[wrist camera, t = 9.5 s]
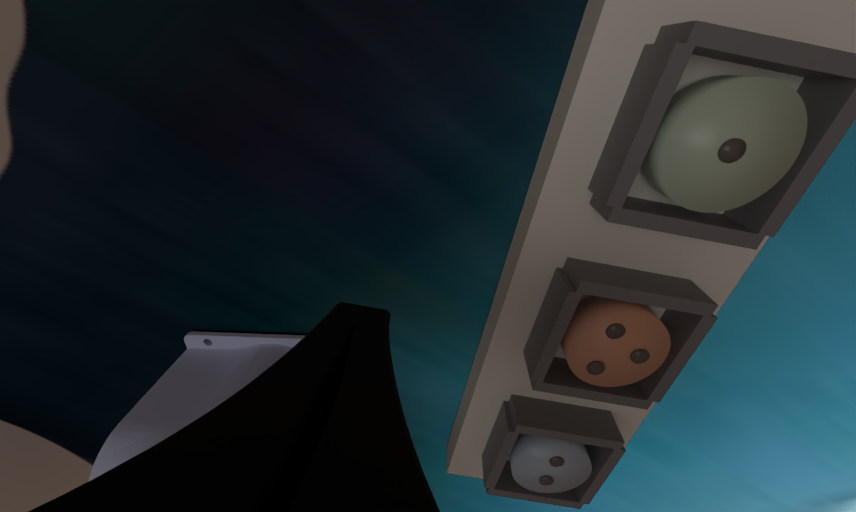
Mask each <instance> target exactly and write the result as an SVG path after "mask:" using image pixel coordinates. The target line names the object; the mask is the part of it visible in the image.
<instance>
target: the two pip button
mask: <svg viewBox="0 0 856 512" xmlns="http://www.w3.org/2000/svg"><path fill="white" fill-rule="evenodd" d="M509 458H510V465H511V471H512V476H513V478H514V480H515V481H516V482H517V483H518V484H519V485H521V486H522V487H524V488H526V489H528V490H531V491H535V492H540V493H559V492H564V491H568V490H571V489H573V488H576V487H578V486H579V485H581V484H582V483H584V482H585V481H586V480H587V479H588V477H589V476H590V474H591V471H592V464H591V461H590V458H589V455H588V453H587V450H586V447H585V444H582V443H576V442H570V441H564V440H558V439H552V438H545V437H539V436H533V435H527V434H521V433H519V435H518V438H517V440H516V442H515V444H514V446H513V449H512V451H511V453H510V455H509Z"/></svg>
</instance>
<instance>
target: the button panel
mask: <svg viewBox="0 0 856 512" xmlns="http://www.w3.org/2000/svg"><path fill="white" fill-rule="evenodd" d="M719 75H738V76H758V77H769V78H774V79H777V80H780V81H782V82H784V83H786V84H788V85H790V86H791V87H792V88H793V89H795V90H796V92H797V93H798V94H799V95H800V97H801V98H802V100H803V102H804V105H805V108H806V112H807V132H806V137H805V140H804V144H803V146H802V149H801V151H800V153H799V155H798V157H797V158H796V160H795V162H794V163H793V165H792V166H791V168H790V169H789V170H788V172H787V173H786V174H785V175H784V176H783V177H782V178H781V180H779V181H778V182H777V183H776V184H775V185H774V186H773V187H772V188H771V189H769V190H768V191H767V192H766V193H764V194H762V195H761V196H759V197H758V198H756V199H754V200H753V201H751V202H749V203H747V204H745V205H742V206H740V207H737V208H734V209H731V210H727V211H722V212H714V213H703V212H696V211H692V210H689V209H686V208H684V207H682V206H680V205H679V204H677V203H675V202H674V201H672V200H671V199H669V198H668V197H666V196H664V195H663V194H661V193H660V192H658V191H656V190H655V189H654V188H653V187H652V186H651V185H650V184H649V183H648V182H647V180H646V178H645V176H644V175H643V172H642V169H641V165H642V163H643V160H644V158H645V156H646V154H647V152H648V149H649V147H650V145H651V143H652V141H653V138H654V136H655V134H656V132H657V130H658V127H659V125H660V123H661V121H662V119H663V116H664V114H665V112H666V110H667V108H668V105H669V103H670V101H671V99H672V97H673V95H674V94H676V93H677V92H678V91H680V90H681V89H683V88H684V87H686V86H688V85H690V84H692V83H694V82H696V81H699V80H701V79H705V78H708V77H712V76H719ZM855 119H856V0H588V3H587V6H586V9H585V12H584V15H583V18H582V21H581V25H580V28H579V31H578V34H577V37H576V40H575V44H574V47H573V50H572V53H571V56H570V59H569V62H568V66H567V69H566V72H565V75H564V78H563V81H562V85H561V88H560V91H559V94H558V97H557V100H556V103H555V107H554V110H553V113H552V116H551V119H550V122H549V126H548V129H547V132H546V135H545V138H544V141H543V144H542V148H541V151H540V154H539V157H538V160H537V163H536V167H535V170H534V173H533V176H532V179H531V182H530V185H529V189H528V192H527V195H526V198H525V201H524V204H523V208H522V211H521V214H520V217H519V220H518V223H517V226H516V230H515V233H514V236H513V239H512V242H511V245H510V249H509V252H508V255H507V258H506V261H505V264H504V267H503V271H502V274H501V277H500V280H499V283H498V286H497V290H496V293H495V296H494V299H493V302H492V305H491V308H490V312H489V315H488V318H487V321H486V324H485V327H484V331H483V334H482V337H481V340H480V343H479V346H478V349H477V353H476V356H475V359H474V362H473V365H472V368H471V372H470V375H469V378H468V381H467V384H466V387H465V390H464V394H463V397H462V400H461V403H460V406H459V409H458V413H457V416H456V419H455V422H454V425H453V428H452V432H451V435H450V438H449V441H448V444H447V473H450V474H456V475H462V476H468V477H474V478H481V479H484V488H486V492H487V494H490V495H496V496H503V497H509V498H515V499H521V500H528V501H534V502H540V503H546V504H553V505H559V506H565V507H571V508H578V509H580V508H581V507H582V505H583V504H589V503H590V502H591V500H592V499H593V497H594V496H595V494H596V493H597V492H598V490H599V489H600V487H601V486H602V484H603V483H604V481H605V480H606V479H607V477H608V476H609V474H610V473H611V471H612V470H613V468H614V467H615V466H616V464H617V463H618V461H619V460H620V458H621V457H622V455H623V454H624V453H625V451H626V450H625V446H626V445H627V443H628V442H629V441H630V439H631V438H632V436H633V435H634V433H635V432H636V430H637V429H638V427H639V426H640V425H641V423H642V422H643V420H644V419H645V417H646V416H647V414H648V413H649V411H650V410H651V408H652V407H653V406H654V404H655V403H656V402H660V401H661V399H662V398H663V396H664V395H665V393H666V392H667V390H668V389H669V388H670V386H671V385H672V383H673V382H674V380H675V379H676V377H677V376H678V375H679V373H680V372H681V370H682V369H683V367H684V366H685V364H686V363H687V362H688V360H689V359H690V357H691V356H692V354H693V353H694V351H695V350H696V349H697V347H698V346H699V344H700V343H701V341H702V340H703V338H704V337H705V336H706V334H707V333H708V331H709V330H710V328H711V327H712V325H713V324H714V323H715V321H716V320H717V317H716V316H715V315H716V314H717V312H718V311H719V309H720V308H721V306H722V305H723V303H724V302H725V301H726V299H727V298H728V296H729V295H730V293H731V292H732V290H733V289H734V287H735V286H736V284H737V283H738V282H739V280H740V279H741V277H742V276H743V274H744V273H745V271H746V270H747V268H748V267H749V266H750V264H751V263H752V261H753V260H754V258H755V257H756V255H757V254H758V252H759V251H760V249H761V248H762V247H763V245H764V244H765V242H766V241H767V239H768V238H769V236H771V237H774V236H775V234H776V233H777V232H778V230H779V229H780V227H781V226H782V224H783V223H784V221H785V220H786V219H787V217H788V216H789V214H790V213H791V211H792V210H793V208H794V207H795V206H796V204H797V203H798V201H799V200H800V198H801V197H802V195H803V194H804V193H805V191H806V190H807V188H808V187H809V185H810V184H811V182H812V181H813V180H814V178H815V177H816V175H817V174H818V172H819V171H820V169H821V168H822V167H823V165H824V164H825V162H826V161H827V159H828V158H829V156H830V155H831V154H832V152H833V151H834V149H835V148H836V146H837V145H838V143H839V142H840V141H841V139H842V138H843V136H844V135H845V133H846V132H847V130H848V129H849V128H850V126H851V125H852V123H853V122H854V120H855ZM591 296H598V297H604V298H609V299H615V300H620V301H626V302H631V303H637V304H642V305H648V306H649V307H650V308H651V310H652V311H653V312H654V313H655V315H656V316H657V317H658V318H659V320H660V321H661V322H662V323H663V324H664V326H665V327H666V329H667V330H668V332H669V335H670V339H671V346H670V351H669V353H668V356H667V358H666V359H665V361H664V362H663V364H662V365H661V366H660V367H659V368H658V369H657V370H656V371H654V372H653V373H652V374H650V375H649V376H647V377H646V378H644V379H642V380H640V381H637V382H635V383H632V384H628V385H624V386H618V387H602V386H596V385H592V384H589V383H587V382H584V381H582V380H581V379H579V378H578V377H577V376H576V375H575V374H574V373H573V372H572V371H571V369H570V367H569V365H568V362H567V360H566V357H565V354H564V352H563V349H562V347H561V344H560V343H561V341H562V339H563V336H564V334H565V332H566V330H567V328H568V325H569V323H570V321H571V319H572V317H573V314H574V312H575V310H576V308H577V306H578V303H579V302H580V301H582V300H584V299H586V298H588V297H591ZM519 433H521V434H527V435H533V436H539V437H545V438H552V439H558V440H564V441H570V442H576V443H582V444H585V447H586V450H587V453H588V455H589V458H590V461H591V464H592V471H591V474H590V476H589V477H588V479H587V480H586V481H585V482H584V483H582V484H581V485H579V486H578V487H576V488H573V489H571V490H568V491H564V492H559V493H540V492H535V491H531V490H528V489H526V488H524V487H522V486H521V485H519V484H518V483H517V482H516V481H515V480H514V478H513V476H512V471H511V465H510V458H509V455H510V453H511V451H512V449H513V446H514V444H515V442H516V440H517V438H518V435H519Z"/></svg>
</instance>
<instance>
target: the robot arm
mask: <svg viewBox="0 0 856 512" xmlns="http://www.w3.org/2000/svg"><path fill="white" fill-rule="evenodd" d="M390 315H391V314H390V313H389V312H388V311H387V310H384V309H378V308H372V307H367V306H361V305H355V304H349V303H344V302H340V303H339V304H337V305H336V306H335V307H334V308H333V309H332V310H331V311H330V312H329V313H328V314H327V315H326V317H325V318H324V319H323V320H322V321H321V322H320V323H319V324H318V325H316V326H315V327H314V328H313V329H312V330H311V331H310V332H309V333H308V334H307V335H306V336H303V335H276V334H249V333H221V332H194V331H192V332H189V333H188V334H187V335H186V336H185V337H184V341H185V344H186V346H187V350H186V351H185V352H184V353H183V354H182V355H181V356H180V357H179V358H178V359H177V361H176V362H175V363H174V364H173V365H172V366H171V367H170V368H169V369H168V370H167V371H166V373H165V374H164V375H163V376H162V377H161V378H160V379H159V380H158V381H157V382H156V383H155V385H154V386H153V387H152V388H151V389H150V390H149V391H148V392H147V393H146V394H145V395H144V397H143V398H142V399H141V400H140V401H139V402H138V403H137V404H136V405H135V406H134V407H133V409H132V410H131V411H130V412H129V413H128V414H127V415H126V416H125V417H124V418H123V419H122V421H121V422H120V423H119V424H118V425H117V426H116V427H115V429H114V430H113V431H112V433H111V434H110V435H109V437H108V438H107V440H106V441H105V443H104V445H103V447H102V448H101V450H100V452H99V454H98V456H97V459H96V461H95V463H94V466H93V468H92V471H91V474H90V478H89V482H87V483H85V484H83V485H81V486H79V487H77V488H75V489H74V490H71V491H70V492H68V493H66V494H64V495H62V496H60V497H58V498H56V499H54V500H52V501H50V502H47V503H45V504H43V505H41V506H39V507H37V508H35V509H33V510H31V511H29V512H440V511H439V509H438V506H437V504H436V501H435V499H434V497H433V494H432V492H431V489H430V487H429V485H428V482H427V480H426V478H425V475H424V473H423V470H422V468H421V465H420V462H419V459H418V457H417V454H416V451H415V448H414V445H413V442H412V439H411V436H410V433H409V430H408V427H407V424H406V420H405V417H404V413H403V410H402V406H401V402H400V398H399V394H398V390H397V386H396V381H395V376H394V370H393V364H392V358H391V351H390V341H389V322H390ZM208 339H209V340H208ZM210 340H211V341H210Z"/></svg>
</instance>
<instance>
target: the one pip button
mask: <svg viewBox="0 0 856 512" xmlns="http://www.w3.org/2000/svg"><path fill="white" fill-rule="evenodd" d="M806 132H807V112H806V108H805V105H804V102H803V100H802V98H801V97H800V95H799V94H798V93H797V92H796V90H795V89H793V88H792V87H791V86H790V85H788V84H786V83H784V82H782V81H780V80H777V79H774V78H769V77H758V76H738V75H719V76H712V77H708V78H705V79H701V80H699V81H696V82H694V83H692V84H690V85H688V86H686V87H684V88H683V89H681V90H680V91H678V92H677V93H676V94H674V95H673V97H672V99H671V101H670V103H669V105H668V108H667V110H666V112H665V114H664V116H663V119H662V121H661V123H660V125H659V127H658V130H657V132H656V134H655V136H654V138H653V141H652V143H651V145H650V147H649V149H648V152H647V154H646V156H645V158H644V160H643V163H642V165H641V169H642V172H643V175H644V176H645V178H646V180H647V182H648V183H649V184H650V185H651V186H652V187H653V188H654V189H655V190H656V191H658V192H660V193H661V194H663V195H664V196H666V197H668V198H669V199H671V200H672V201H674V202H675V203H677V204H679V205H680V206H682V207H684V208H686V209H689V210H692V211H696V212H703V213H714V212H722V211H727V210H731V209H734V208H737V207H740V206H742V205H745V204H747V203H749V202H751V201H753V200H754V199H756V198H758V197H759V196H761V195H762V194H764V193H766V192H767V191H768V190H769V189H771V188H772V187H773V186H774V185H775V184H776V183H777V182H778V181H779V180H781V178H782V177H783V176H784V175H785V174H786V173H787V172H788V170H789V169H790V168H791V166H792V165H793V163H794V162H795V160H796V158H797V157H798V155H799V153H800V151H801V149H802V146H803V144H804V140H805V137H806Z"/></svg>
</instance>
